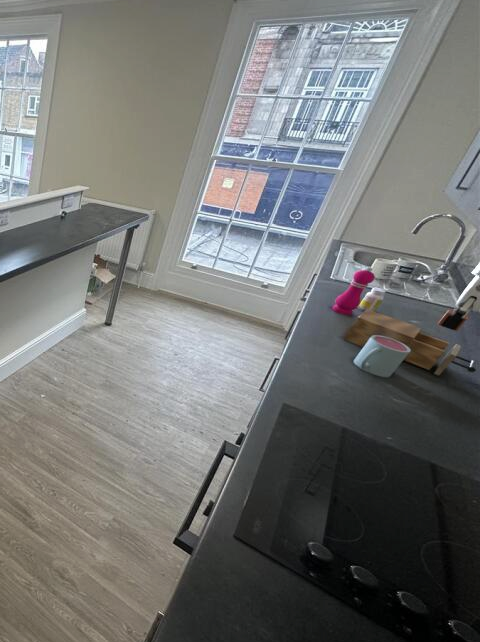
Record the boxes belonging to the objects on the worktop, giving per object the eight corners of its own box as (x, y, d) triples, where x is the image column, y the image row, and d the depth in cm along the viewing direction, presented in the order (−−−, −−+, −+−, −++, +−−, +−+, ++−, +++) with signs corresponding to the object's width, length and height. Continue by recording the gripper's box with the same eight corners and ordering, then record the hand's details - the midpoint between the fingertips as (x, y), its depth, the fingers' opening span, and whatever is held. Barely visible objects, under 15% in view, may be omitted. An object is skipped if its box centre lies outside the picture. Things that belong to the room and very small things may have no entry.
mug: (362, 358, 133) (381, 333, 128) (396, 375, 126) (417, 349, 121) (338, 364, 128) (356, 339, 123) (371, 383, 121) (391, 356, 116)
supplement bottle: (371, 310, 168) (386, 289, 163) (375, 315, 164) (390, 294, 159) (355, 306, 170) (369, 285, 165) (358, 311, 166) (373, 290, 161)
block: (458, 327, 126) (469, 315, 123) (456, 331, 123) (467, 319, 121) (439, 321, 129) (449, 309, 126) (437, 324, 126) (447, 312, 124)
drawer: (467, 373, 129) (485, 354, 125) (462, 385, 123) (481, 365, 119) (391, 344, 141) (406, 326, 137) (384, 353, 135) (398, 334, 131)
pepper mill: (343, 317, 159) (374, 271, 149) (325, 308, 165) (353, 263, 155) (356, 316, 161) (387, 270, 151) (337, 307, 167) (366, 263, 157)
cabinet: (403, 351, 140) (421, 328, 135) (395, 361, 133) (414, 338, 128) (352, 331, 150) (367, 309, 145) (342, 340, 143) (358, 317, 138)
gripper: (510, 283, 109) (461, 338, 119) (514, 273, 119) (468, 324, 128) (471, 273, 114) (427, 326, 124) (478, 263, 123) (436, 314, 133)
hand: (449, 325), depth 126 cm, fingers closed on block, 4 cm apart
